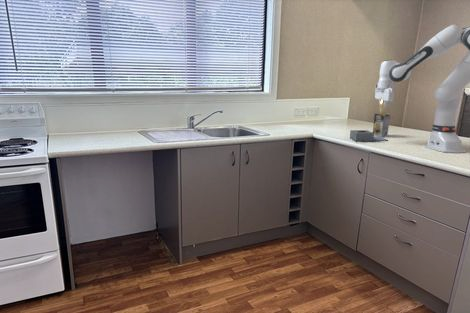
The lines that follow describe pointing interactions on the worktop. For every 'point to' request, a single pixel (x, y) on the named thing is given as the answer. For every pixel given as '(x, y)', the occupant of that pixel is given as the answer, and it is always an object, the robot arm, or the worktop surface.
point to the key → (382, 108)
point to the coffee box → (381, 125)
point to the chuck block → (361, 135)
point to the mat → (379, 139)
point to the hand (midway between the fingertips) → (382, 107)
